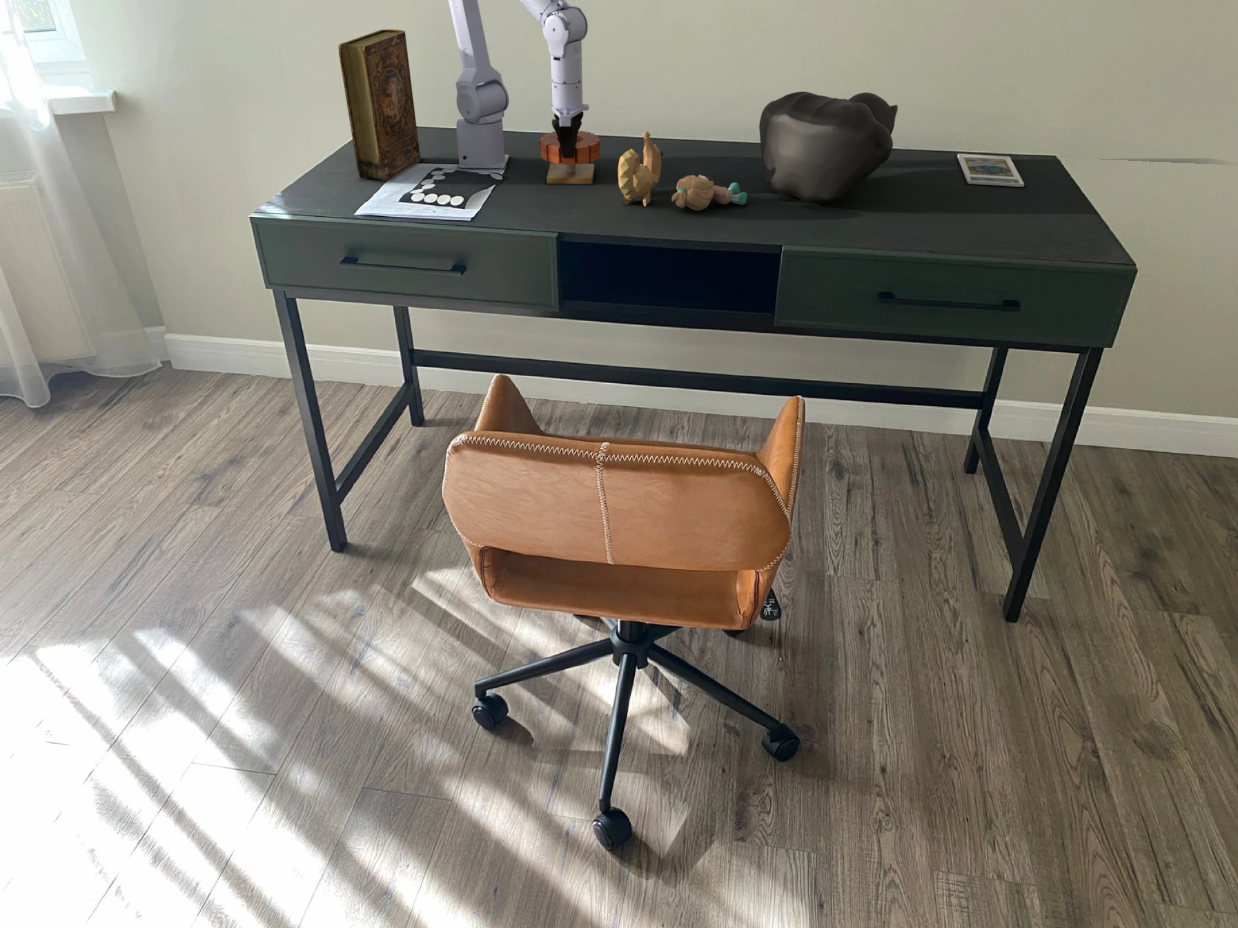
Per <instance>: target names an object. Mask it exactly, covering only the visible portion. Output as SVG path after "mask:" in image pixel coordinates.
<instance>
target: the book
mask: <svg viewBox="0 0 1238 928" xmlns="http://www.w3.org/2000/svg"><path fill="white" fill-rule="evenodd" d="M407 45H408V44H407V37H406V31H405V30H401V29H388V28H387V29H379V30H375V31H373V32H370V33H368V34H364V35H362V36H358V37H356V38H353V39H350V40H348V41H344V42H341V43H339V44H338V50H337V51H338V56H339V64H340V69H341V76H342V81H343V82H342V83H343V89H344V94H345V100H346V101H345V102H346V107H347V113H348V119H349V126H350V131H351V138H352V144H353V151H354V156H355V163H356V168H357V173H358V177H359V179H376V180H380V181H383V182H388V181H389V180H392V178H395V177H397V176H398V175H400V174H402V173H403V172H405V171H406V170H408V169H410V168H411V167H413V166H415V165H417V164H418V163H420V162H421V152H420V143H419V136H418V135H419V134H418V127H417V118H416V110H415V102H414V94H413V85H412V78H411V69H410V61H409V53H408V46H407Z"/></svg>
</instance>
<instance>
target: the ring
mask: <svg viewBox="0 0 1238 928" xmlns="http://www.w3.org/2000/svg"><path fill="white" fill-rule="evenodd" d="M600 142H601V140H600V136H598V135H597V134H595V133H594V132H593V133H592V132H590V131H584V130H579V131H578V134H577V142H576V146H575V153H574V157H573V158H563V157H562V153H561V149H560V144H559V140H558V137H557V134H556V132H555V131H552V132H547V133H546V134H543V135H542V136H541V137H540V141H539V146H540V157H541V159H543V160H544V161H545V162H548V163H556V164H562V165H575V163H576V164H590V163H592V162H594V161H596V160H598V159H599V158H600V152H601V151H600V149H601V147H600V146H601V145H600V144H601V143H600Z"/></svg>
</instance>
